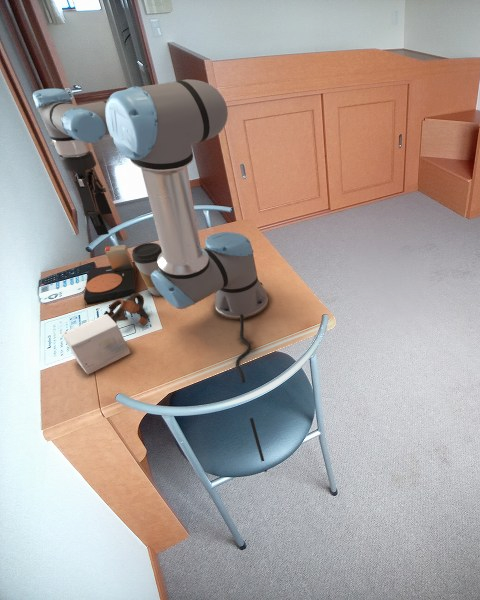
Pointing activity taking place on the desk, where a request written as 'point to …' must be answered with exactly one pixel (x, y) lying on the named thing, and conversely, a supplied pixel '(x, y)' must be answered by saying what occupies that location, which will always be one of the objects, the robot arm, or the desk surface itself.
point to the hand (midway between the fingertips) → (105, 223)
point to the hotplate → (120, 291)
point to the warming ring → (104, 283)
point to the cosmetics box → (96, 343)
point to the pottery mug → (128, 309)
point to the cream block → (119, 257)
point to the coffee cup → (147, 263)
